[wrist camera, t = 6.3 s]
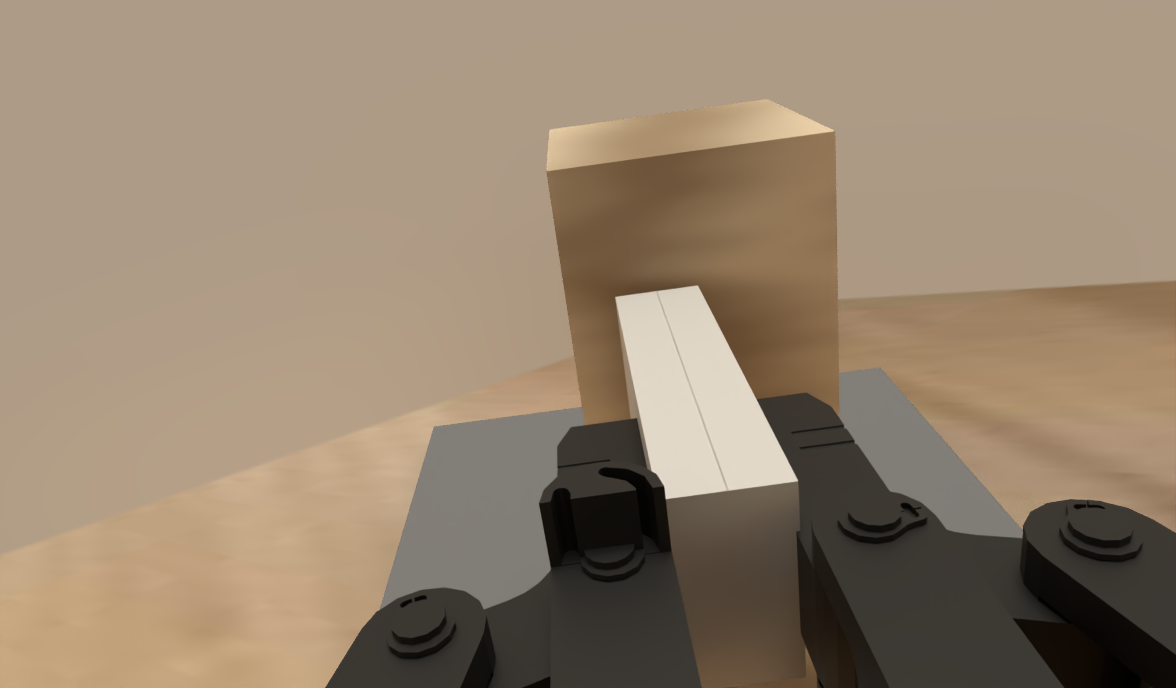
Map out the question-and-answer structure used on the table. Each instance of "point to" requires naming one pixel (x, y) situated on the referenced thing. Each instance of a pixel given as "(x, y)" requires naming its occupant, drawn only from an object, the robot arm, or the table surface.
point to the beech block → (703, 245)
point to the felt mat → (529, 464)
